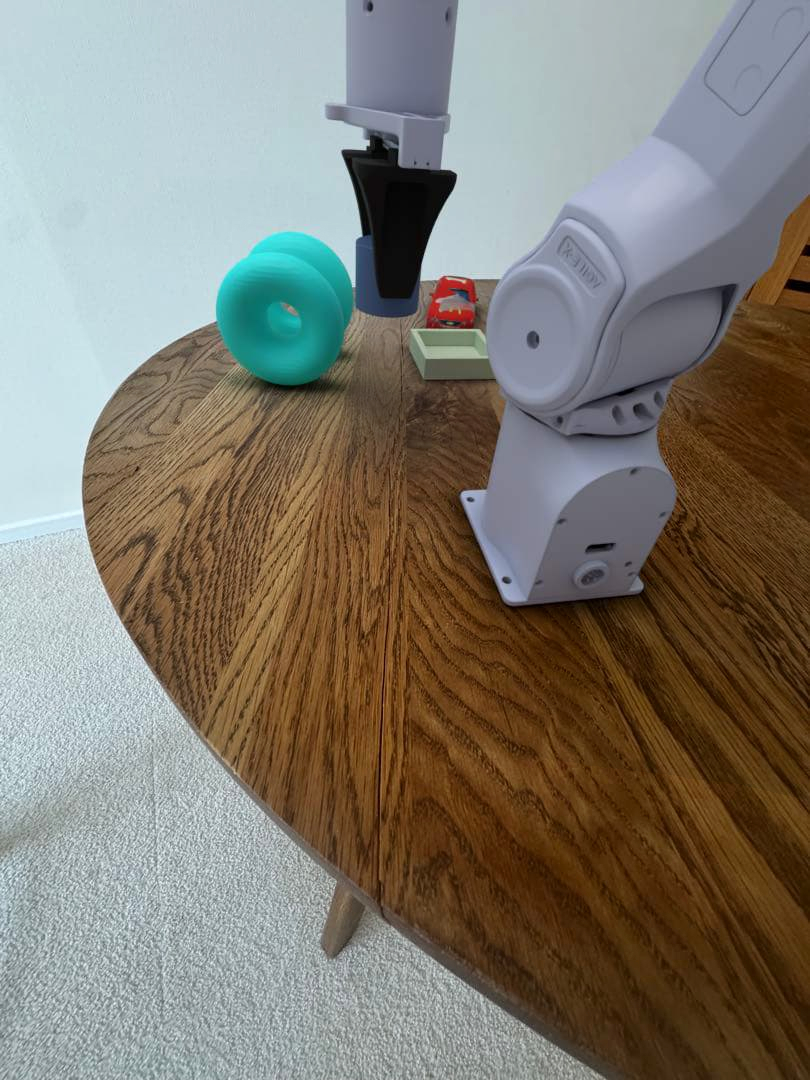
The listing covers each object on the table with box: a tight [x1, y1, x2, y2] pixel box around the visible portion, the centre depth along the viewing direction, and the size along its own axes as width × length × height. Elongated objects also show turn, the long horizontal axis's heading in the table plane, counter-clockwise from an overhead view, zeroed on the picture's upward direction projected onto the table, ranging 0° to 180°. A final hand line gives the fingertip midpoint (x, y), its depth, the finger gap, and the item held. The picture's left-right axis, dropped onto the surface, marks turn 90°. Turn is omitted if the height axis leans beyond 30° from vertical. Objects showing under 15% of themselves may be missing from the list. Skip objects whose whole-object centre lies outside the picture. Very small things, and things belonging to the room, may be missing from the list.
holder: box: [408, 328, 496, 381], centre depth 48 cm, size 7×7×2 cm
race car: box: [425, 275, 480, 329], centre depth 57 cm, size 13×5×4 cm, turn 171°
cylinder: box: [354, 235, 423, 319], centre depth 34 cm, size 4×4×4 cm
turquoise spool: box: [215, 231, 355, 386], centre depth 42 cm, size 10×10×10 cm
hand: (388, 285), depth 34 cm, fingers closed on cylinder, 4 cm apart
